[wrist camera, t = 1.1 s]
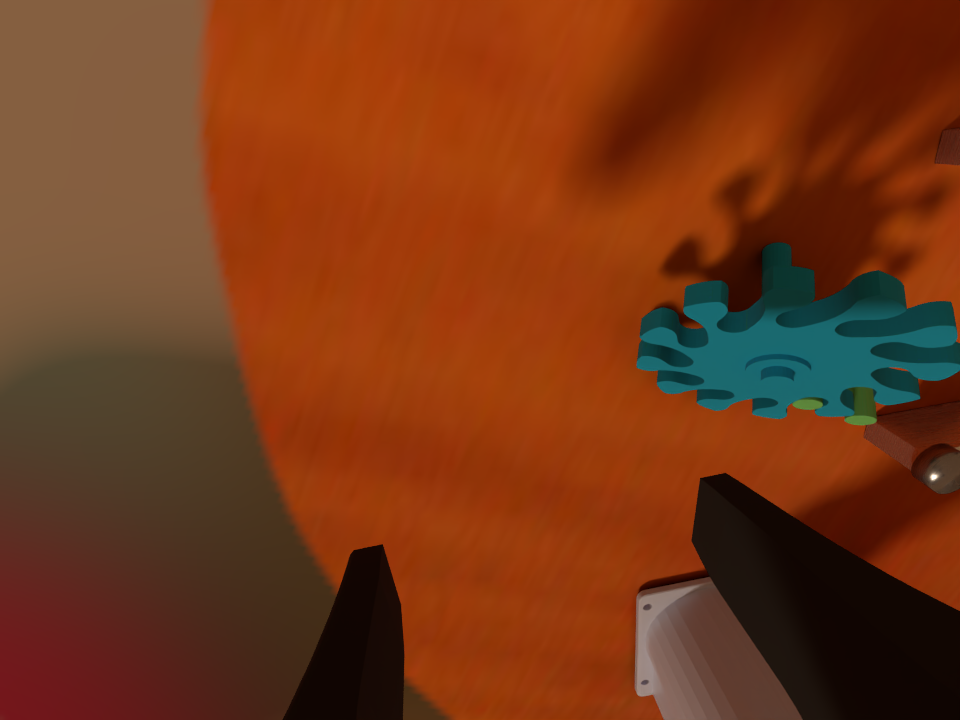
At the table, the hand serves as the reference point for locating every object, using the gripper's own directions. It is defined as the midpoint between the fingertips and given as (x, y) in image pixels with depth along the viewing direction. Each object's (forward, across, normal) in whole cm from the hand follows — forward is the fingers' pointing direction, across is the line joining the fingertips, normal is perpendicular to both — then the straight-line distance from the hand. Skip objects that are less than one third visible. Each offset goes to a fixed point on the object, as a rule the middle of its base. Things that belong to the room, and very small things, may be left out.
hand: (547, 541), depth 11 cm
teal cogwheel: (+11, -11, +2) cm, 15 cm away
